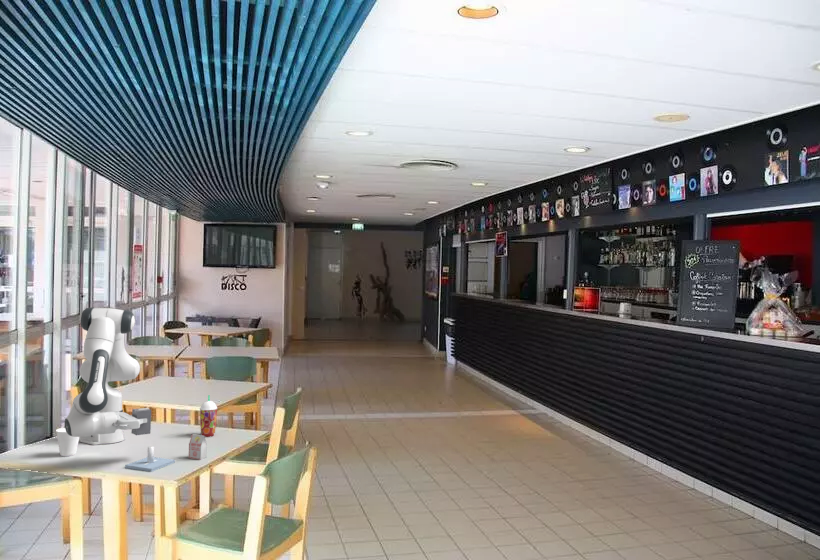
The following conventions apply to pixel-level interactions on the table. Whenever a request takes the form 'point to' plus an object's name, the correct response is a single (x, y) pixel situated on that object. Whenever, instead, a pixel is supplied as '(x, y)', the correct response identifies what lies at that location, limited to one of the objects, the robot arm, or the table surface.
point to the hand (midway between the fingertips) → (143, 418)
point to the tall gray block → (144, 427)
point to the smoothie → (208, 418)
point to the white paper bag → (197, 447)
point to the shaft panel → (149, 466)
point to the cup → (66, 443)
